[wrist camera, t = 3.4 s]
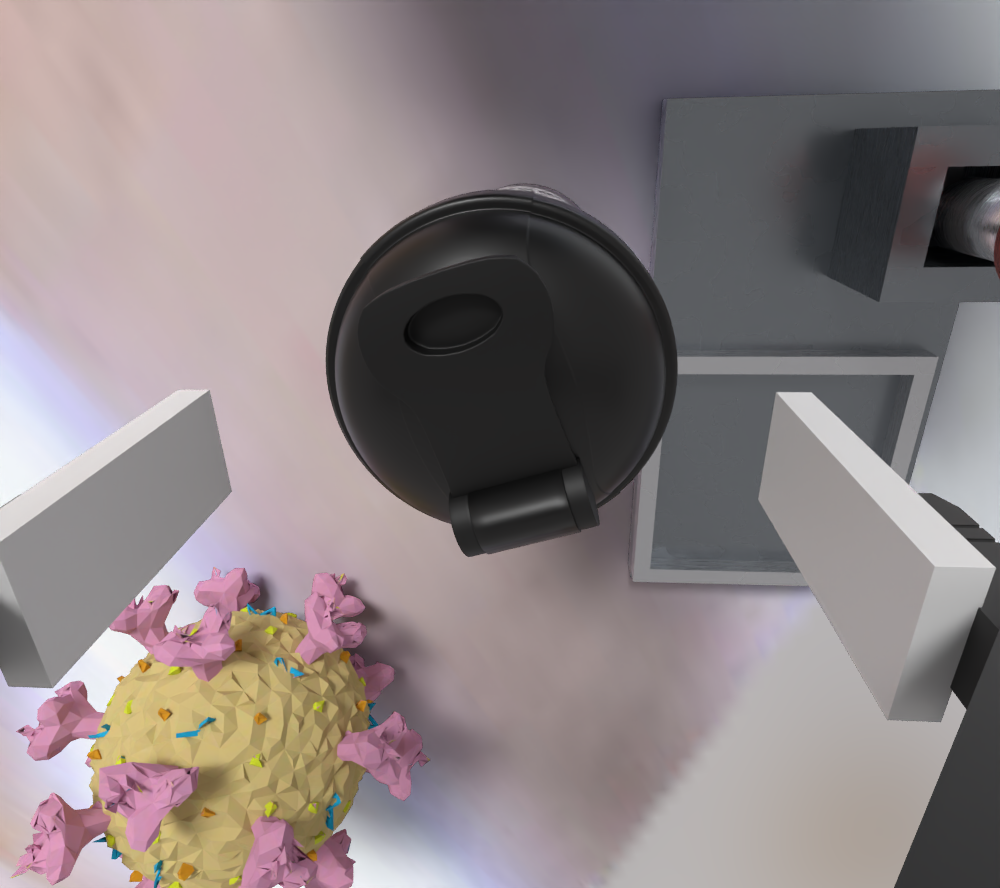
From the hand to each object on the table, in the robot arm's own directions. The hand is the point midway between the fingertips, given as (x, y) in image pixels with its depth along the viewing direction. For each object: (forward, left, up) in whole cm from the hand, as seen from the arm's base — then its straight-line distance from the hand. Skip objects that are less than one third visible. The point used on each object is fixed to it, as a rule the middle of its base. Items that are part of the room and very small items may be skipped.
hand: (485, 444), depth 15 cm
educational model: (-17, -27, -24) cm, 40 cm away
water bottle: (0, 0, -24) cm, 24 cm away
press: (+15, -6, -24) cm, 28 cm away
